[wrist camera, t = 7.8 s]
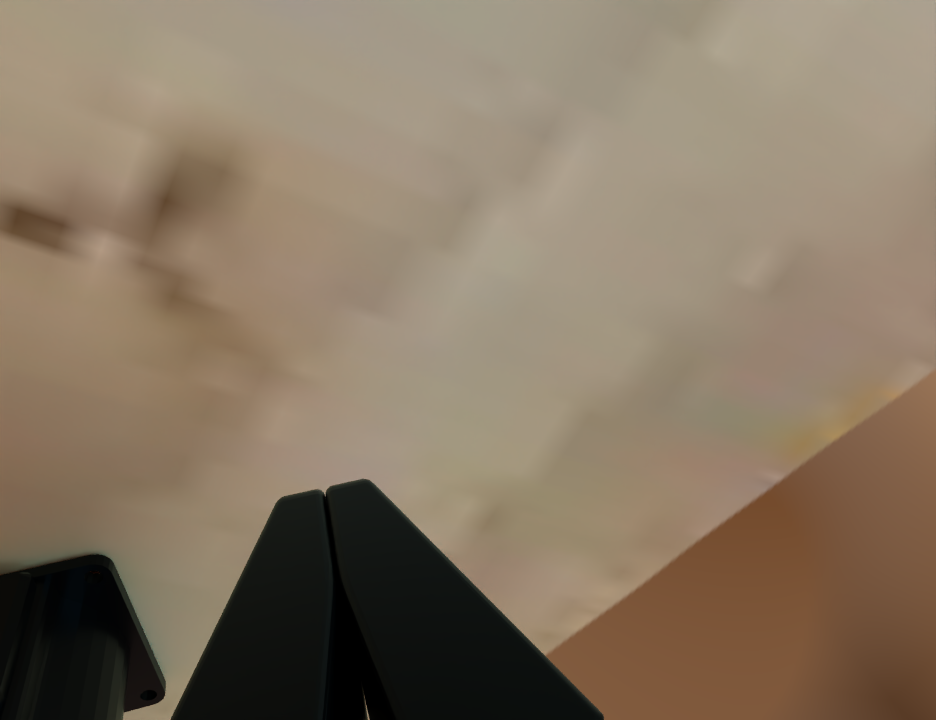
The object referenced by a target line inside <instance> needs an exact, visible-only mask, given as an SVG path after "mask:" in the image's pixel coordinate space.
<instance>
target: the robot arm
mask: <svg viewBox="0 0 936 720" xmlns="http://www.w3.org/2000/svg"><path fill="white" fill-rule="evenodd" d="M90 571H98V572H101V573H98V574H93V573H90ZM165 690H166V681H165V679H164V676H163V674H162V672H161V669H160V667H159V665H158V663H157V660H156V658H155V656H154V654H153V651H152V649H151V647H150V644H149V642H148V640H147V638H146V635H145V633H144V631H143V629H142V626H141V624H140V622H139V619H138V617H137V615H136V613H135V610H134V608H133V606H132V604H131V601H130V599H129V597H128V594H127V592H126V590H125V588H124V585H123V583H122V581H121V579H120V576H119V574H118V572H117V569H116V567H115V565H114V563H113V562H112V560H111V559H110V558H108V557H106V556H103V555H98V554H96V555H88V556H84V557H79V558H75V559H70V560H66V561H61V562H57V563H53V564H48V565H44V566H39V567H35V568H31V569H26V570H22V571H17V572H13V573H9V574H4V575H0V720H123V713H124V712H127V711H131V710H135V709H138V708H142V707H146V706H150V705H153V704H156V703H158V702H160V701H161V700H162V699H163V698H164V696H165ZM364 696H365V698H364ZM365 701H366V704H365ZM366 705H367V710H368V714H369V719H370V720H604V716H603V714H602V713H601V712H600V711H599V710H598V709H597V708H596V707H595V706H594V705H593V704H592V703H591V702H590V701H589V700H588V699H587V698H586V697H585V696H584V695H583V694H582V693H581V692H580V691H579V690H578V689H577V688H576V687H575V686H574V685H573V684H572V683H571V682H570V681H569V680H568V679H567V678H566V677H565V676H564V675H563V674H562V672H561V671H559V669H558V668H556V667H555V665H553V663H551V661H550V660H549V659H548V658H547V657H546V656H545V655H544V654H543V653H542V652H541V651H540V650H539V649H538V648H537V647H536V646H535V645H534V644H533V643H532V642H531V641H530V640H529V639H528V638H527V637H526V636H525V635H524V634H523V633H522V632H521V631H520V630H519V629H518V628H517V627H516V626H515V625H514V624H513V623H512V622H511V621H510V620H509V619H508V618H507V617H506V616H505V615H504V614H503V613H502V612H501V611H500V610H499V609H498V608H497V607H496V606H495V605H494V604H493V603H492V602H491V601H490V600H489V599H488V598H487V597H486V596H485V595H484V594H483V593H482V592H481V591H480V590H479V589H478V588H477V587H476V586H475V585H474V584H473V583H472V582H471V581H470V580H469V579H468V578H467V577H466V576H465V575H464V574H463V573H462V572H461V571H460V570H459V569H458V568H457V567H456V566H455V565H454V564H453V563H452V562H451V561H450V560H449V559H448V558H447V557H446V556H445V555H444V554H443V553H442V552H441V551H440V550H439V549H438V548H437V547H436V546H435V545H434V544H433V543H432V542H431V541H430V540H429V539H428V538H427V537H426V536H425V535H424V534H423V533H422V532H421V531H420V530H419V529H418V528H417V527H416V526H415V525H414V524H413V523H412V522H411V521H410V519H409V518H408V517H407V516H406V515H405V514H404V513H403V512H402V511H401V510H400V509H399V508H398V507H397V506H396V505H395V504H394V503H393V502H392V501H391V500H390V499H389V498H388V497H387V496H386V495H385V494H384V493H383V492H382V491H381V490H380V489H379V488H378V487H377V486H376V485H375V484H374V483H372V482H371V481H370V480H367V479H360V480H356V481H351V482H347V483H342V484H338V485H333V486H330V487H329V488H328V489H327V491H326V497H325V494H324V493H323V492H322V491H321V490H318V489H315V490H311V491H306V492H302V493H297V494H293V495H288V496H284V497H282V498H280V499H279V500H278V501H277V503H276V504H275V506H274V508H273V510H272V512H271V514H270V516H269V518H268V521H267V523H266V525H265V527H264V529H263V531H262V533H261V535H260V537H259V539H258V541H257V543H256V545H255V547H254V549H253V551H252V553H251V555H250V558H249V560H248V562H247V564H246V566H245V568H244V570H243V572H242V574H241V576H240V578H239V580H238V582H237V584H236V586H235V588H234V590H233V592H232V594H231V597H230V599H229V601H228V603H227V605H226V607H225V609H224V611H223V613H222V615H221V617H220V619H219V621H218V623H217V625H216V627H215V629H214V631H213V633H212V636H211V638H210V640H209V642H208V644H207V646H206V648H205V650H204V652H203V654H202V656H201V658H200V660H199V662H198V664H197V666H196V668H195V670H194V672H193V675H192V677H191V679H190V681H189V683H188V685H187V687H186V689H185V691H184V693H183V695H182V697H181V699H180V701H179V703H178V705H177V707H176V709H175V712H174V714H173V716H172V718H171V720H368V718H367V711H366Z"/></svg>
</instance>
